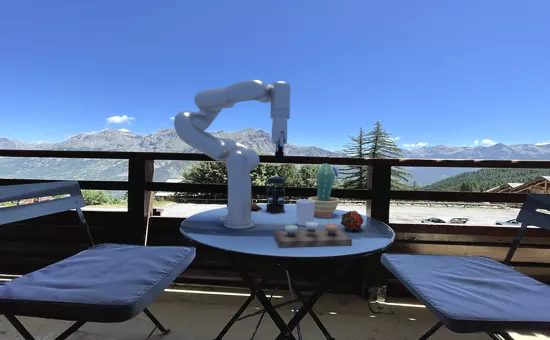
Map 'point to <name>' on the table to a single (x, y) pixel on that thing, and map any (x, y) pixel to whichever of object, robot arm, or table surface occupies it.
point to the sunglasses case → (253, 206)
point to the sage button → (290, 230)
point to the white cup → (305, 211)
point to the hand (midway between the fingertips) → (279, 161)
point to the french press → (275, 195)
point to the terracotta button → (331, 228)
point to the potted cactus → (325, 191)
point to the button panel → (311, 239)
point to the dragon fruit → (352, 220)
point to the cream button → (311, 226)
